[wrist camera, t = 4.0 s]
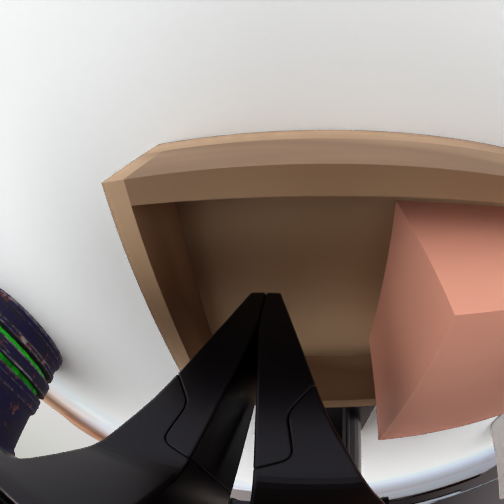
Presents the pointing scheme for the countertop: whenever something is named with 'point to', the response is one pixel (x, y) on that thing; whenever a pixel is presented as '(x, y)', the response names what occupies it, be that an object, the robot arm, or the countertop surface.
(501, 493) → the cup
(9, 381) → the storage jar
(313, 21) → the countertop surface
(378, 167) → the wooden tray
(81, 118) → the countertop surface
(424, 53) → the countertop surface
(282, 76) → the countertop surface
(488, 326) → the block
